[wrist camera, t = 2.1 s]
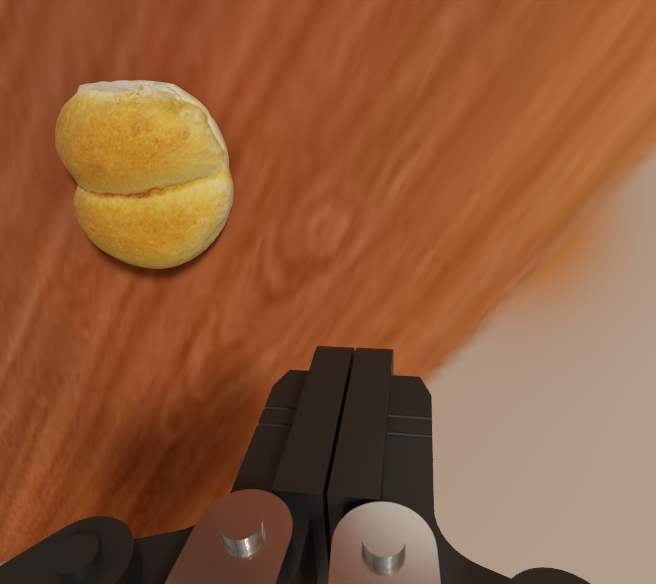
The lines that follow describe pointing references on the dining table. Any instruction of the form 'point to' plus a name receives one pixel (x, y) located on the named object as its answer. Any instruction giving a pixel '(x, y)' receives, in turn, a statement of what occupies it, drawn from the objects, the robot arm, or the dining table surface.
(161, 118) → the bread roll
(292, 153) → the dining table surface
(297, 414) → the robot arm
